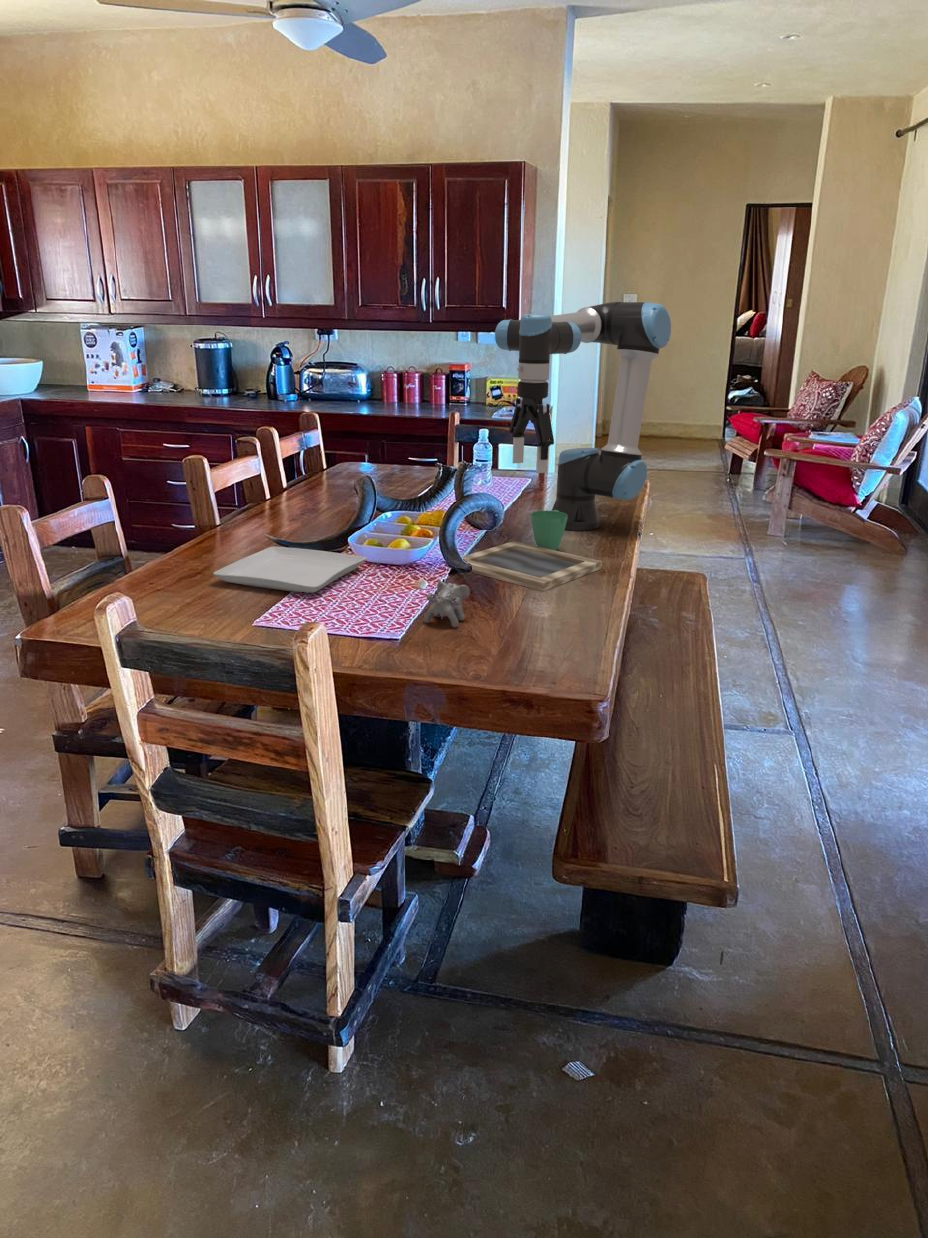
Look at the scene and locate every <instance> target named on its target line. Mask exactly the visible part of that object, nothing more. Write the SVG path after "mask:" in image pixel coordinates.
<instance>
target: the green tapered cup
mask: <svg viewBox="0 0 928 1238" xmlns="http://www.w3.org/2000/svg"><path fill="white" fill-rule="evenodd" d="M567 516H568V515H567V514H565V513H563V512H559V511H557V510H552V509H551V510H537V511H533V512H531V514H530V520H531V526H532V533H533V537H534V540H535V541H534V542H535V546H537V547H542V548H546V549H550V550H555V551H558V549H559V546H560V545H561V544H560V543H561V542H562V538H563V536H564V533H565V526H566V522H567Z"/></svg>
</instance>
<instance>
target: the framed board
mask: <svg viewBox="0 0 928 1238" xmlns="http://www.w3.org/2000/svg"><path fill="white" fill-rule="evenodd" d="M461 557H462V558H463V559H464V560H465V561H467V562H468V563H470V564H471V565H472V572H473V573H472V572H471V573H472V574H476V575H479V576H484V577H487V578H492V579H495V580H499V581H503V582H507V583H510V584H513V585H514V584H515V585H518V586H521V587H526V588H529V589H534V590H537V591H541V592H545V591H548V590H550V589H553V588H555V587H558V586H561V585H564V584H565V583H568V582H571V581H573V580H576V579H579V578H582V577H584V576H587V575H589V574H592V573H594V572H597V571H599V570H602V567H603V561H602V560H597V559H595V558H594V559H593V558H590V557H585V556H581V555H578V554H572V553H567V552H563V551H559V550H556V551H555V550H550V549H546V548H542V547H537V545H532V544H528V543H524V542H523V543H522V542H519V541H515V540H513V541H509V542H506V543H503V544H499V545H496V546H493V547H490V548H486V549H484V550H480V551H476V552H473V553H471V554H466V555H463V556H461ZM476 561H477V562H476Z"/></svg>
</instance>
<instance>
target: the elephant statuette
mask: <svg viewBox="0 0 928 1238" xmlns="http://www.w3.org/2000/svg"><path fill="white" fill-rule="evenodd" d="M436 591H437V594H435V593H431V592H429V593H428V594H426V597H425V598H426V600H427V601H428V602H432V603H431V605H430V606H429V607H428V608H427V610H426V612H425V614H424V615H423V620H424V623H426V624H429V623H430V622H431V620H432V618H433V617H435V618H440V619H441V620H443V618H444V617H447V618H448V619H449V621H450V623H451V627H452V628H458V626H459V621H460V622H462V621H464V620H466V615H465V614H464V611H463V599H466V598H468V597H469V596H470V595H471V590H470V588H469V586H468V585H467V584H460V585H459V584H457V583H451V582H447V583H446V582H444V581H441V580H439V581H438V582H437V584H436ZM433 597H434V598H433Z"/></svg>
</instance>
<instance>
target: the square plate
mask: <svg viewBox="0 0 928 1238" xmlns="http://www.w3.org/2000/svg"><path fill="white" fill-rule="evenodd" d="M366 560H367V556H362V555H354V554H353V555H352V554H346V553H341V552H333V551H327V550H326V551H325V550H317V549H307V548H299V547H286V546H285V547H284V546H276V545H275V546H270V547H267V548H264V549H262V550H260V551H258V552H255V553H253V554H251V555H248V556H245V557H242V558H241V559H238V560H236V561H234V562H232V563H230V564H228V565H225V566H223V567H222V568H220V569H218V570H216V571H214V572H213V573H212V574H213V575H214V576H215V577H217V578H218V579H220V580H222V581H223V582H227V583H231V584H239V585H244V586H249V587H257V588H265V589H272V590H278V591H279V590H280V591H284V592H285V591H287V592H294V593H302V592H304V593H307V594H313V593H316V592H318V591H320V590H322V589H324V588H325V587H326V586H328V585H330V584H331V583H333V582H334V580H335V581H336V580H338V579H339V577H340V578H341V577H343V576H345V575H347V574H349V573H351V572H352V571H354V570H356V569H357V568H358V567H360V566H361V565H362V564H363V563H364V562H365V561H366ZM329 583H330V584H329Z"/></svg>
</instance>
